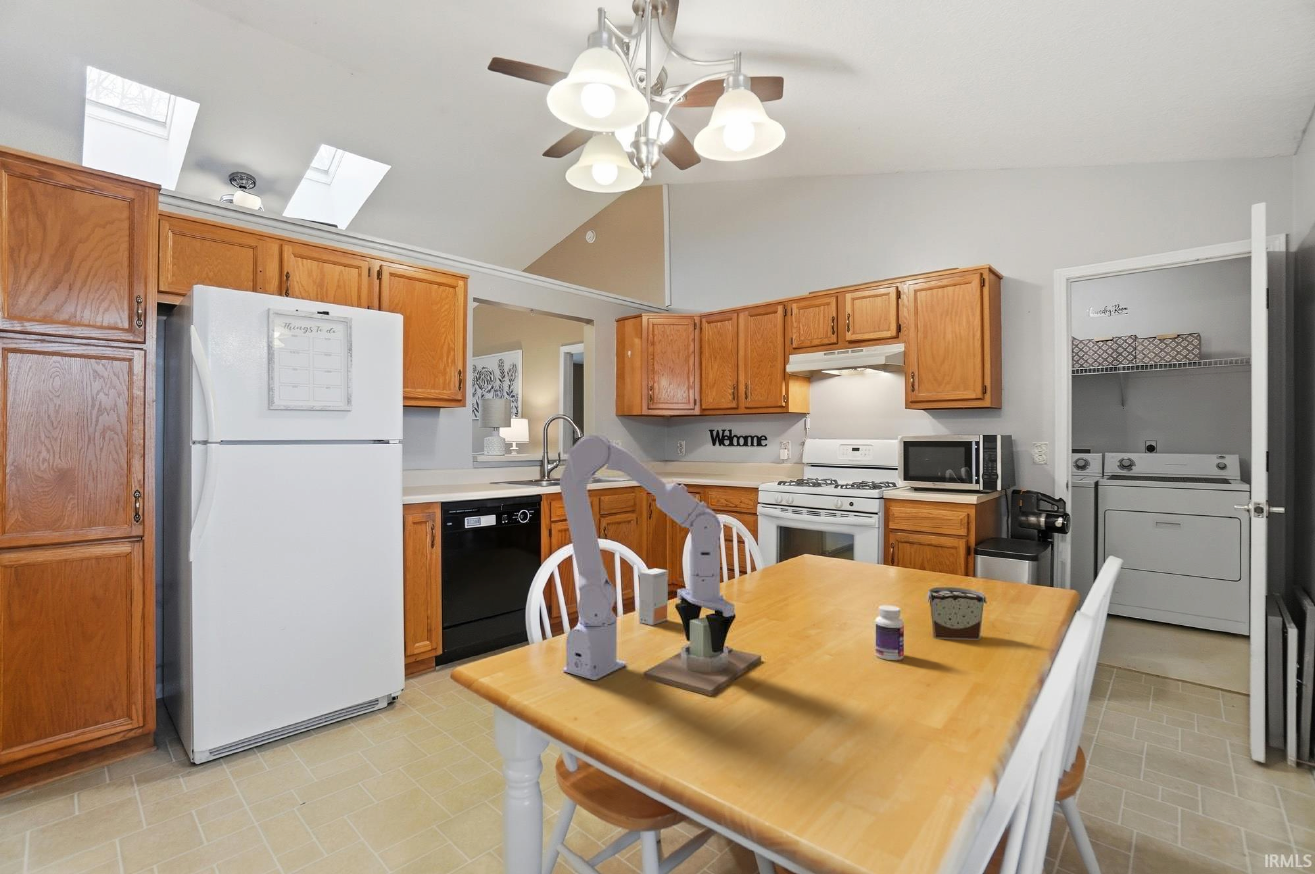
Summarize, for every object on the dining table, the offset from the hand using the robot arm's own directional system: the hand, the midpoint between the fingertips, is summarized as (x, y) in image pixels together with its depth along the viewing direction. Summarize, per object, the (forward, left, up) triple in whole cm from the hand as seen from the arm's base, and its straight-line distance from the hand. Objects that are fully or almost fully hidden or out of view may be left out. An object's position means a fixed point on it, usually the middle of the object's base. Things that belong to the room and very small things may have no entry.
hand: (704, 645), depth 115 cm
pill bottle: (+27, -27, -5) cm, 38 cm away
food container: (+49, -35, -5) cm, 60 cm away
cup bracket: (0, 0, -4) cm, 4 cm away
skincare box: (+19, +25, -5) cm, 32 cm away
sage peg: (0, 0, -3) cm, 3 cm away
